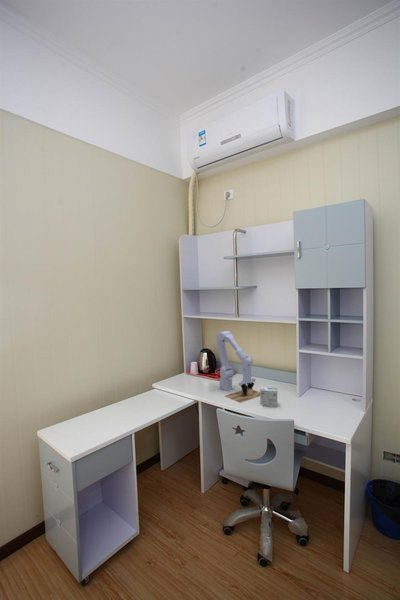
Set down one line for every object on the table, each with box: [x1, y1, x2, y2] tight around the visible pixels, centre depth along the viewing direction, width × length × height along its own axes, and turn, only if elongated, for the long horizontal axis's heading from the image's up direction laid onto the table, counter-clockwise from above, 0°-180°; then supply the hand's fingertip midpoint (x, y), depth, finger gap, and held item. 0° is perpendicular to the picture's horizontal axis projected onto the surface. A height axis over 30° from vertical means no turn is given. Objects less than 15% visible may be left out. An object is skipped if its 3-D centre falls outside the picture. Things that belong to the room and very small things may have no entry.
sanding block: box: [241, 387, 254, 396], centre depth 213 cm, size 7×4×4 cm, turn 37°
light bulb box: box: [259, 386, 278, 408], centre depth 197 cm, size 11×7×11 cm, turn 74°
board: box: [224, 389, 260, 404], centre depth 212 cm, size 16×24×1 cm, turn 127°
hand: (247, 393), depth 213 cm, fingers closed on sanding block, 4 cm apart
